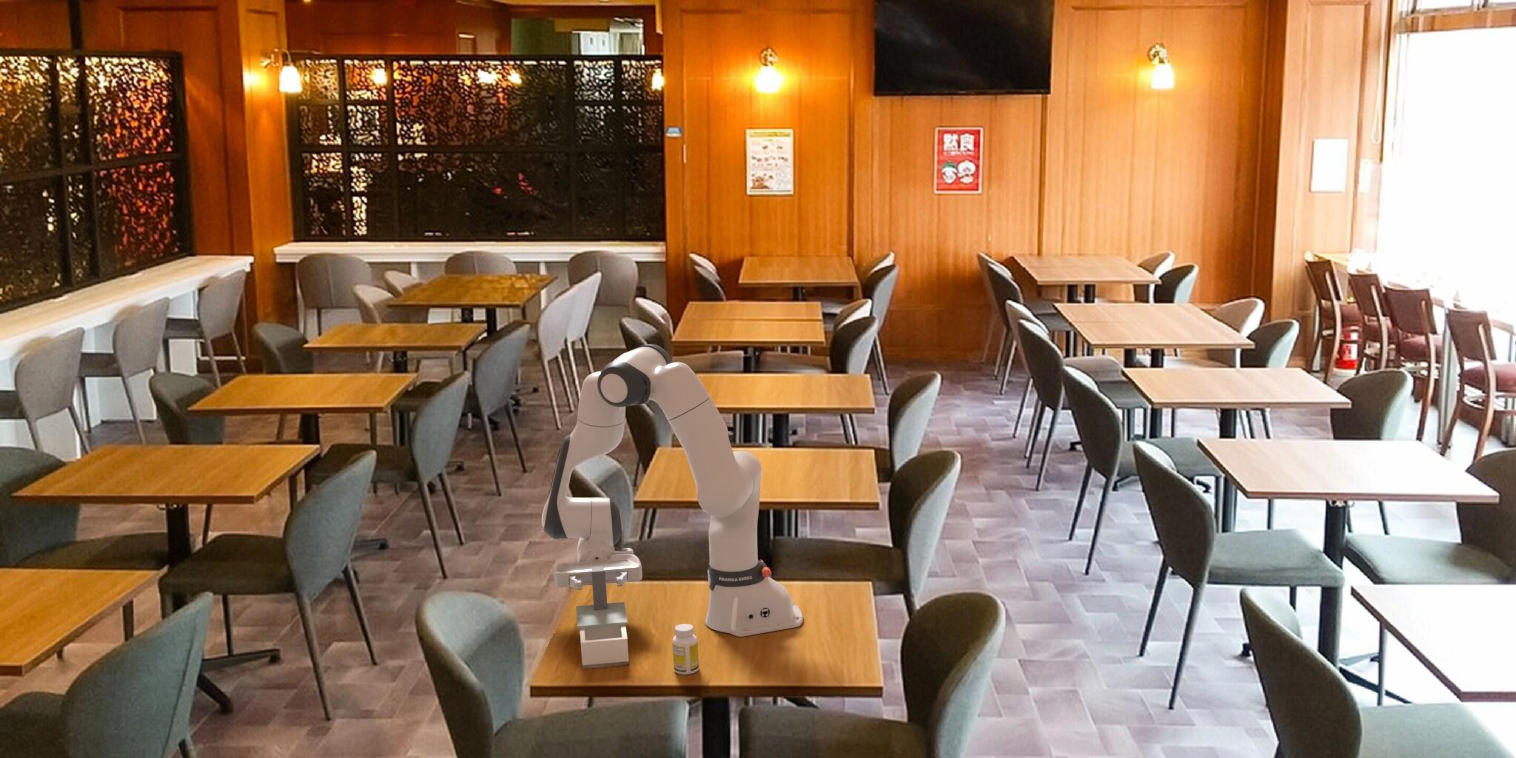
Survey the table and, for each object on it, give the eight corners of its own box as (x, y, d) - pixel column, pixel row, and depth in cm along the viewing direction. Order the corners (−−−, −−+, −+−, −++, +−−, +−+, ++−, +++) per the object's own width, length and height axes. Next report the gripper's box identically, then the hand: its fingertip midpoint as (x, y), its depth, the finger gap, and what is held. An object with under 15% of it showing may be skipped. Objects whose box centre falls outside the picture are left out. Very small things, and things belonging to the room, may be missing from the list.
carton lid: (576, 608, 327) (573, 568, 325) (624, 604, 329) (622, 563, 327) (577, 628, 316) (574, 587, 314) (627, 624, 317) (625, 582, 315)
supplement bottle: (697, 663, 311) (695, 621, 309) (700, 673, 306) (698, 630, 303) (672, 666, 310) (670, 623, 308) (675, 676, 305) (673, 633, 302)
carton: (581, 648, 321) (579, 623, 319) (625, 644, 322) (624, 619, 321) (582, 668, 310) (580, 642, 309) (628, 664, 311) (627, 638, 310)
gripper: (551, 554, 335) (551, 575, 322) (638, 547, 338) (643, 568, 325) (553, 580, 337) (553, 602, 323) (640, 573, 339) (644, 594, 326)
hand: (599, 584), depth 324 cm, fingers open, 8 cm apart
